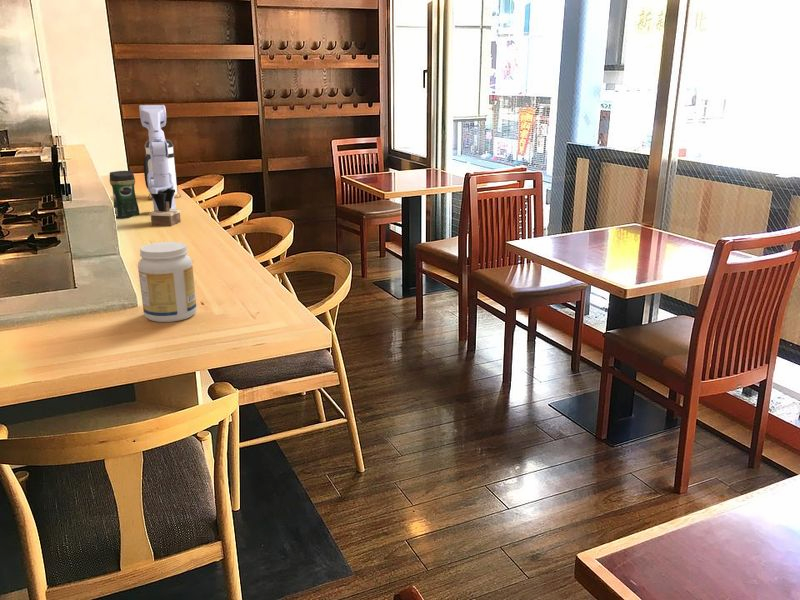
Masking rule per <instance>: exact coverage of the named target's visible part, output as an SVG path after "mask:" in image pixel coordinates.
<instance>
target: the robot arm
mask: <svg viewBox="0 0 800 600" xmlns="http://www.w3.org/2000/svg"><path fill="white" fill-rule="evenodd" d="M138 108H139V109H138V110H139V117H140V123H141V124H140V125H142V127H143V128H146V129H147V131H148V134H147V135H148V140H149V142H150V143H149V151H150V156H151V161H152V167H153V170H151V171H150V172H149V173H148V175H147V182H148V188H147V190H148V192H149V194H150V193H151V194H150V197H151V198H152V197H153V198H152V204H153V211H155V210H159V211H165V201H168V202H169V207H170V209H177V208H176V207H177V206H176V200H175V195H174V193H175V189H173V188H174V184H173V180H172V174H171V173H170V172H169V167H168V158H167V157H166V154H167V156H168V145H167V142H166V140H165V139H166V137H165V132H164V130H162V128H163V127H165V126H167V125H166V124H167V110H166V106H165V104H144V105H143V104H140V105H139V106H138ZM153 176H154V177H153ZM151 177H152V178H151Z"/></svg>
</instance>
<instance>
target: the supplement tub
mask: <svg viewBox="0 0 800 600" xmlns="http://www.w3.org/2000/svg"><path fill="white" fill-rule="evenodd" d="M139 251H140V252H139V256H140V257H141V258H140V259H139V261H138V264H137V269H138V271H137V272H138V278H139V286H140V293H141V302H142V308H143V315H144V317H145V318H146V319H148V320H150V321H153V322H155V323H174V322H179V321H182V320H183V321H184V320H186V319H188V318H191V317H193V316H194V315H195V314H196V312H197V309H198V307H197V298H196V297H197V296H196V289H195V288H196V287H195V277H194V269H193V268H194V266H193V261H192V258H191V256H189V255H188V254H187V253H188V247H187V244H186V243H184V242H181V241H180V242H179V241H178V242H177V241H159V242H152V243H149V244H145V245H142V246H141V247H140V248H139Z"/></svg>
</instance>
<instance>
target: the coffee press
mask: <svg viewBox="0 0 800 600" xmlns="http://www.w3.org/2000/svg"><path fill="white" fill-rule="evenodd" d="M165 140H166V142H167V145H168V156H167V154H166V157H167V158H168V167H169V172H170V173H171V174H172V180H173V184H174V188H173V189H175V193H174V196H176V197H178V198H181V197H182V194H179V196H178V193H179V190H178V189H179V188H178V180H177V170H176V161H175V152H174V144H173V142H172V141H171V140H170V139H166V138H165ZM149 143H150V142H149V139H148V140H147V141H146V142H145V144H144V145H143V146H144V148H145V157H144V159H143V174H144V175H143V176H144V181H145V186H146V188H147V189H148V182H147V175H148V173H149V172H150V171H151V170H153V167H152V161H151V156H150V151H149ZM153 177H154V176H153ZM151 178H152V177H151ZM147 199H148V201H149V200H153V197H152V196H151V193H150V192H149V194H148V196H147Z"/></svg>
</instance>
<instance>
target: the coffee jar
mask: <svg viewBox="0 0 800 600" xmlns="http://www.w3.org/2000/svg"><path fill="white" fill-rule="evenodd" d="M109 184H110V186H111V188H112V195H113V197H112V198H113V209H114V208H115V214H116V217H115V218H117V219H118V218H119V219H129V218H133V217H137V216H139V215H140V208H139V204H138V200H137V196H136V190H135V184H136V178H135V175H134V172H133V171H132V170H117V171H110V172H109Z"/></svg>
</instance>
